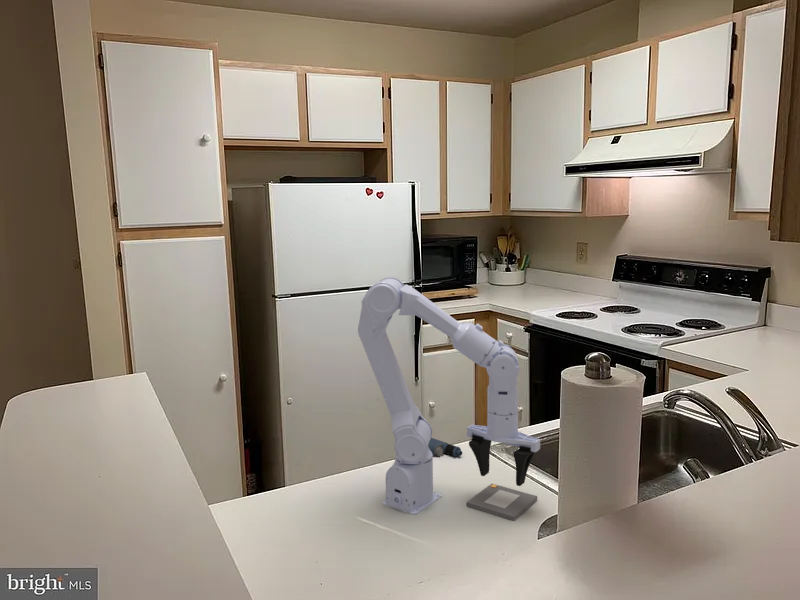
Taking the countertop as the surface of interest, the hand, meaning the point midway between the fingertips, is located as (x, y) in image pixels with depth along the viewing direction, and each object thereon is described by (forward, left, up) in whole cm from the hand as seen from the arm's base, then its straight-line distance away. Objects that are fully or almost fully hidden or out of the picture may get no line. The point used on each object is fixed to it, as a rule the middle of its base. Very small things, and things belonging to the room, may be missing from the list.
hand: (502, 479), depth 119 cm
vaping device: (+15, +30, -4) cm, 34 cm away
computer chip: (0, 0, -5) cm, 5 cm away
